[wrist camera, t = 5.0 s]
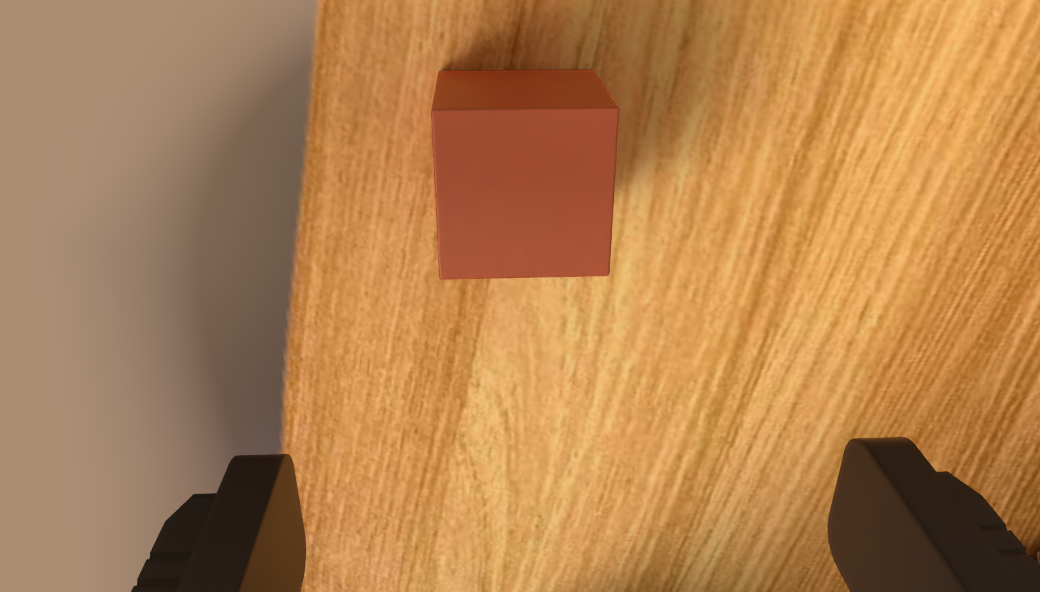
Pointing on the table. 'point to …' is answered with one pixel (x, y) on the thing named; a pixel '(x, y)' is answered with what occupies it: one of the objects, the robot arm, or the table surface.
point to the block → (523, 173)
